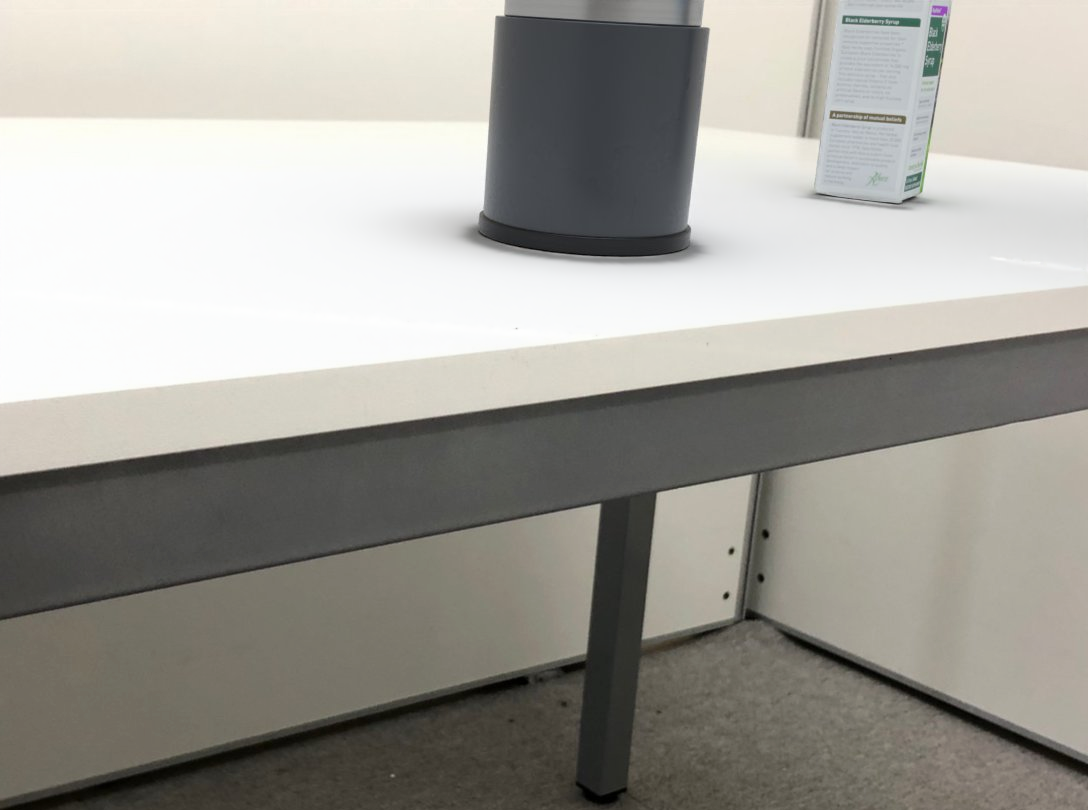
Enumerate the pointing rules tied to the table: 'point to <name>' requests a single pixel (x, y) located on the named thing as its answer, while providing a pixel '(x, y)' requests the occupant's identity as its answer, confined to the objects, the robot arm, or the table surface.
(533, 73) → the dark grey upright cylinder
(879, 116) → the syrup box
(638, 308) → the table surface
